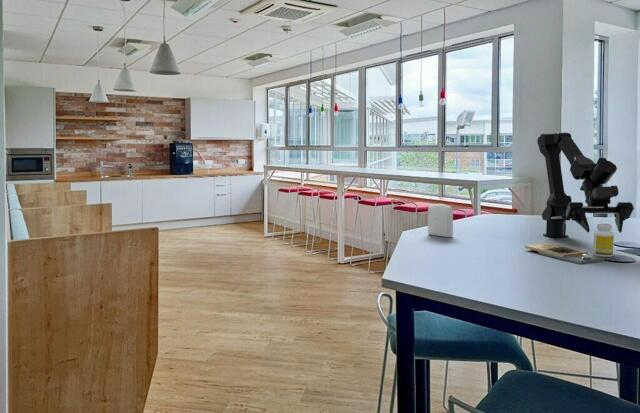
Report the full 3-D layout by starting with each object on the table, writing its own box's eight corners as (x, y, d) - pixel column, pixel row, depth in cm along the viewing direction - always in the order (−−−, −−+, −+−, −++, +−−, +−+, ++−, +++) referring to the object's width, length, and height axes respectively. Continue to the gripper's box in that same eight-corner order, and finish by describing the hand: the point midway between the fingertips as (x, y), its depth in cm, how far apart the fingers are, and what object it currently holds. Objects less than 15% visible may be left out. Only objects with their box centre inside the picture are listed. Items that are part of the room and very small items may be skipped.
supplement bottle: (616, 257, 163) (617, 225, 162) (598, 257, 163) (599, 226, 162) (607, 253, 169) (608, 223, 167) (589, 253, 169) (591, 223, 168)
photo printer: (426, 234, 208) (426, 203, 207) (433, 233, 211) (433, 202, 209) (447, 238, 200) (447, 205, 199) (454, 236, 203) (454, 204, 201)
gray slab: (604, 260, 159) (604, 254, 159) (579, 264, 155) (579, 257, 155) (548, 247, 179) (548, 241, 179) (525, 250, 175) (525, 244, 175)
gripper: (569, 177, 170) (578, 215, 160) (633, 176, 166) (646, 216, 157) (562, 199, 178) (570, 237, 169) (622, 199, 175) (634, 237, 165)
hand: (604, 231), depth 165 cm, fingers open, 9 cm apart
